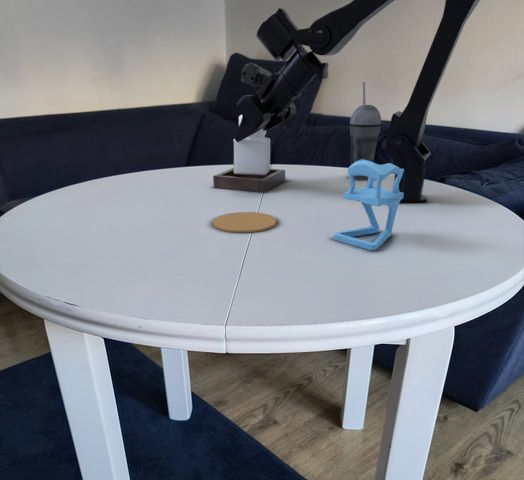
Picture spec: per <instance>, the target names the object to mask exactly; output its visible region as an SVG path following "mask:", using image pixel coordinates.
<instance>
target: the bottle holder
mask: <svg viewBox="0 0 524 480" xmlns="http://www.w3.org/2000/svg"><path fill="white" fill-rule="evenodd" d="M212 179H213V182H212V183H213V188H214V189H224V190H234V191H235V190H236V191H242V192H243V191H245V192H255V193H265V192H268V191H269V190H272V189H273V188H275V187H277V186H279V185H280V184H282V183H284V182H285V181H286V169H279V168H270V171H269V172H268V173H267V174H266V175H245V174H234V167H232V168H230V169H227V170H224V171H222V172H220V173H218V174H217V173H216V174H214V175H213V176H212Z"/></svg>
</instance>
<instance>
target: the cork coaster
mask: <svg viewBox="0 0 524 480" xmlns="http://www.w3.org/2000/svg"><path fill="white" fill-rule="evenodd" d="M212 225H213V227H214V228H215V229H218V230H220V231H223V232H229V233H237V234H238V233H239V234H241V233H242V234H243V233H244V234H247V233H259V232H264V231H266V230H267V231H268V230H270V229H272V228H274V227H275V226H276V225H277V219H276V218H275V217H274V216H273V215H270V214H267V213H262V212H254V211H253V212H252V211H240V212H239V211H238V212H231V213H225V214H222V215H219V216H217V217H215V218H214V219H213V221H212Z"/></svg>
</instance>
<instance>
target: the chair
mask: <svg viewBox="0 0 524 480" xmlns="http://www.w3.org/2000/svg"><path fill="white" fill-rule="evenodd" d="M346 171H347V176H348V181H349V186H348V187H349V188H348V190H347V191H345V192H342V200H347V201H353V202H354V201H355V202H360V203H361V205H362V207H363V209H364V211H365V213H366V216H367V219H368V221H369V223H370V226H366V227H361V228H355V229H349V230H343V231H337V232H335V233H333V240H335V241H338V242H341V243H345V244H348V245H351V246H355V247H358V248H362V249H365V250H368V251H373V252H374V251H376V250H377V249H379V248H380V247H381V246H382V245H384V243H385V241H387V240H388V239H389V238H390V237H391V236H392V235H393V228H394V223H395V219H396V215H397V211H398V208H399V205H400V203H401V202H400V200H401V199H403V195H404V193H402V192H399V182H400V180H401V177H402V175H403V172H404V169H400V168H399V167H397V166H395V165H394V163H390V162H389V163H383V164H378V163H375V162H374V161H373V162H371V161H367V160H365V159H361V160H359V161H357V162H355V163H353V164H352V165H351V164H350V166H349V167H347V169H346ZM392 174H394V175H395V174H397V178H396V180H395V182H394V181H393V184H392V190H388V189H384V188H383V189H382V183H383V181H384V180H385V179H387V177H389V176H390V175H392ZM353 176H367V177H369V178H368V179H367V186H363V187H361V188H359V189H356V181H355V179H354V178H353ZM374 181H376V184H375V186H374ZM372 206H374V207H381V206H387V207H388V213H387V219H386V223H385V228H384V230H383V231H382V232H381V233H380V234H378V236H377V238H375V240H374V241H373V242H371V241H367V240H363V239H359V238H356V237H361V236H365V235H366V236H367V235H371V234H372V235H373V234H376V233H379V232H380V226H379V223H378V221H377V217H376V216H375V212H374V209H373V207H372Z"/></svg>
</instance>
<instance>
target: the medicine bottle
mask: <svg viewBox="0 0 524 480" xmlns="http://www.w3.org/2000/svg"><path fill="white" fill-rule="evenodd" d="M237 118H238V121H237V123H238V124H237V125H238V126H237V127H238V128H239V125H240V123H241V120H242V114H240V115H238V116H237ZM264 127H265V128H264V129H262V130H260V131H258V132H256V133H254V134H253V135H251V136H249V137H247V138H245V139H243V140H242V141H240V142H237V141H236V140H235V138H234V139H233V140H232V143H233V144H232V146H233V148H232V149H233V151H232V152H233V154H232V155H233V168H234V174H245V175H266V174H267V173H268V172H269V171H270V169H271V138H270V137H266V135H267V131H266V125H265V126H264ZM238 128H237V129H238Z"/></svg>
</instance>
